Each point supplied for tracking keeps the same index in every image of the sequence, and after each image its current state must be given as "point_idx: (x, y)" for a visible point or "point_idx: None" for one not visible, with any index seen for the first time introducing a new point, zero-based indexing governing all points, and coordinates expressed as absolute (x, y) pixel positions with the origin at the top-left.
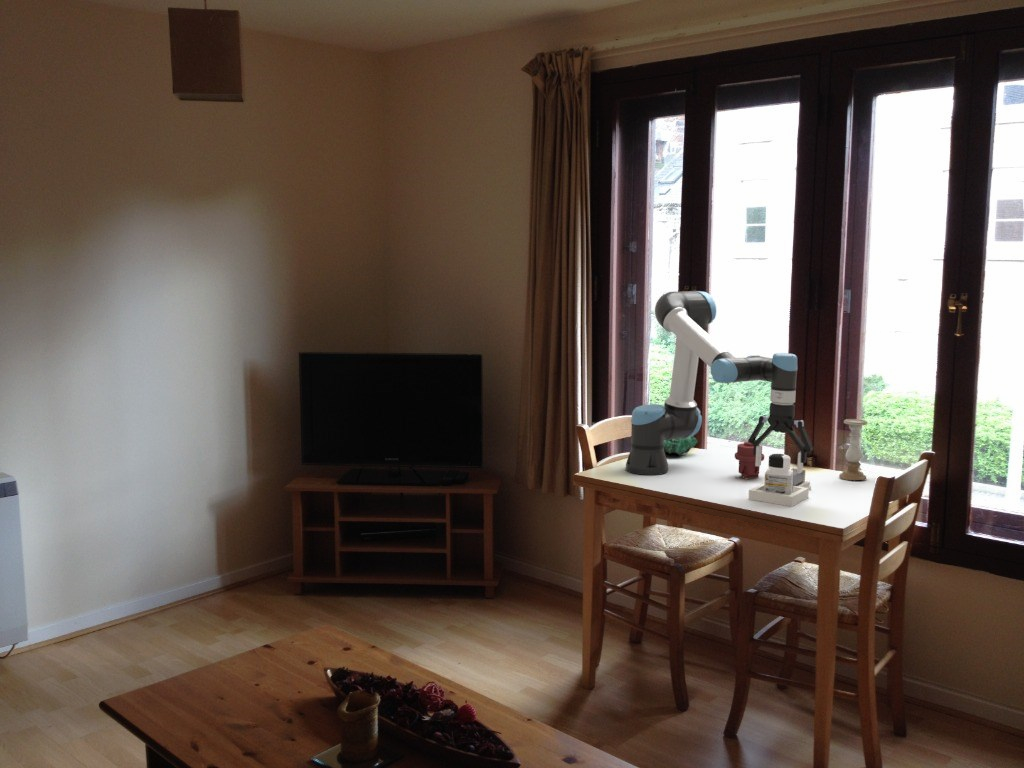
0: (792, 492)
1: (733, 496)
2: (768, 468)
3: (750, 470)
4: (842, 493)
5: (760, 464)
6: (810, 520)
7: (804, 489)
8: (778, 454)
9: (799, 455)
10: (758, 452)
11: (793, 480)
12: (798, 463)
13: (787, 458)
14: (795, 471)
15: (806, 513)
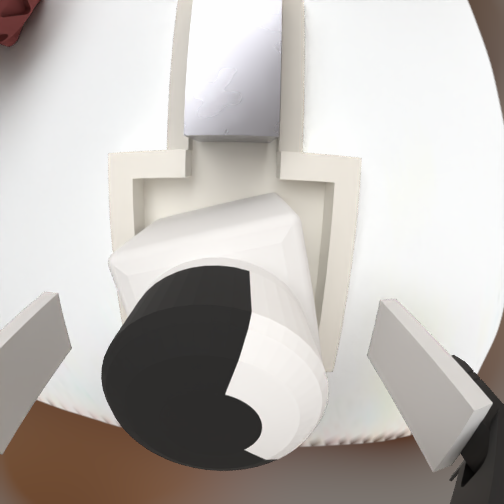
0: (271, 167)
1: (83, 333)
2: (116, 282)
3: (4, 27)
4: (427, 24)
5: (57, 303)
6: (393, 426)
7: (351, 203)
8: (189, 419)
9: (433, 449)
10: (23, 415)
11: (271, 139)
12: (401, 402)
13: (311, 432)
14: (243, 18)
15: (380, 385)
